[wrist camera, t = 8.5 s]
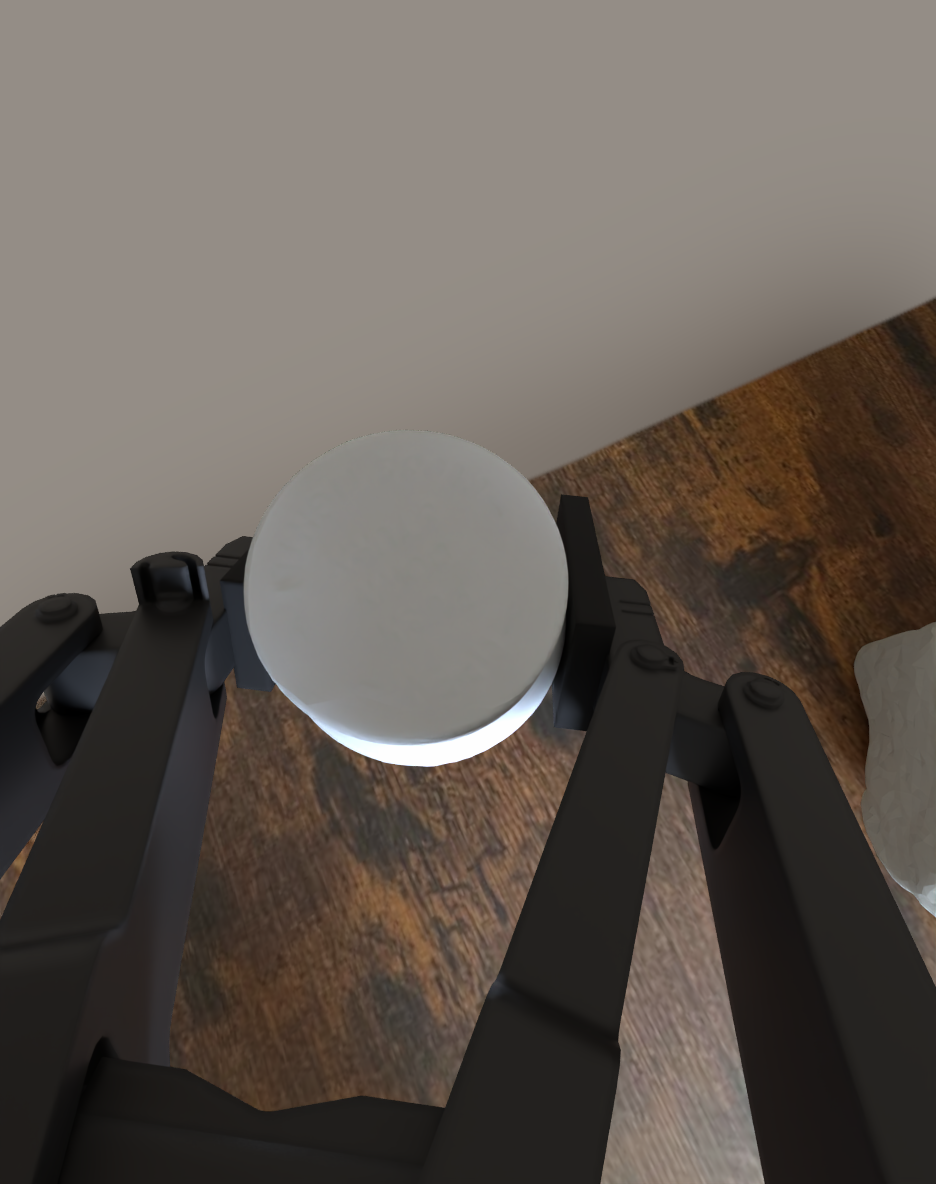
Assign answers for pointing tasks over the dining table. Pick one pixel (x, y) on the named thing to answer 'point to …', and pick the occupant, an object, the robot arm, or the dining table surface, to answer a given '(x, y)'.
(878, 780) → the decorative stone
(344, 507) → the pill bottle
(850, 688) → the dining table surface
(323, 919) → the dining table surface
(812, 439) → the dining table surface
